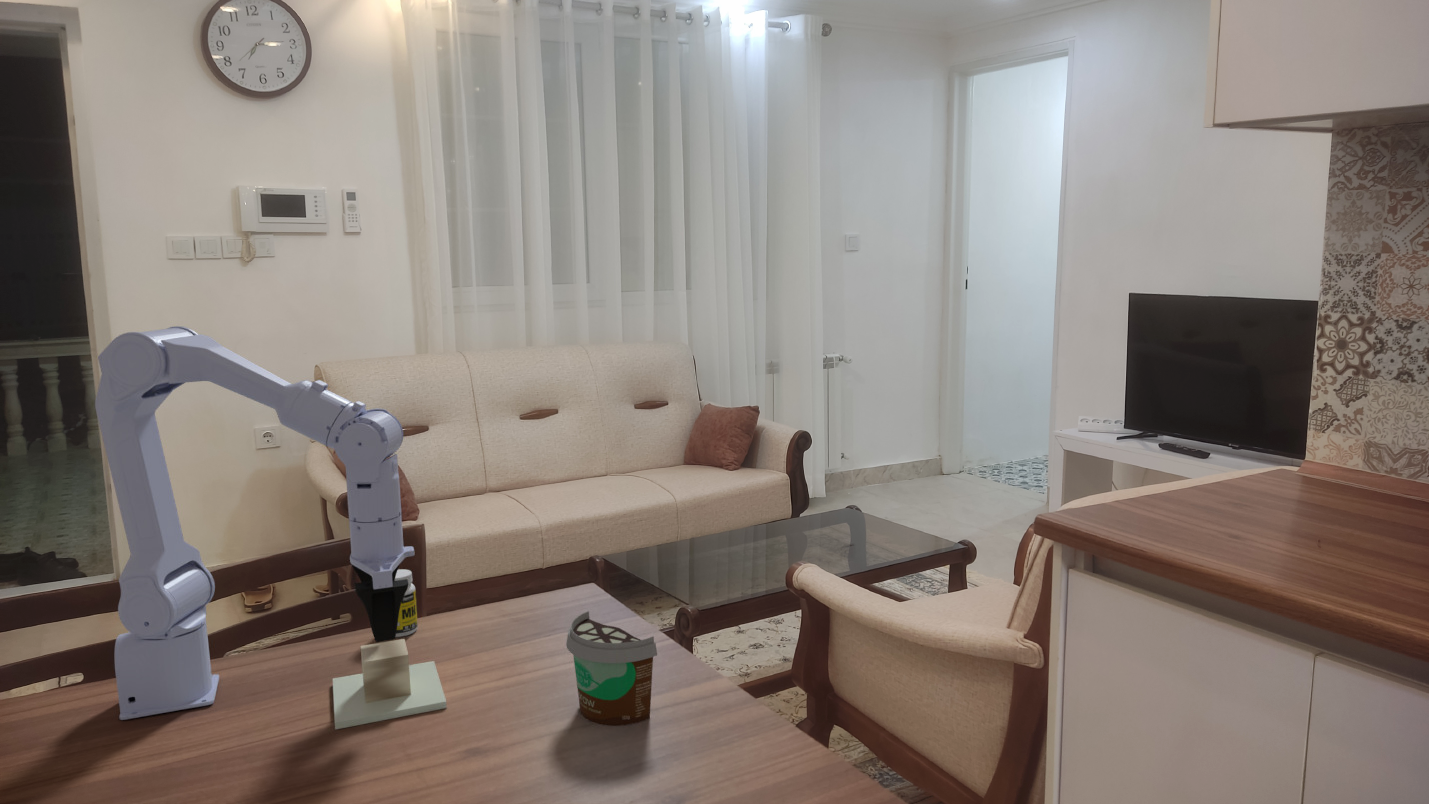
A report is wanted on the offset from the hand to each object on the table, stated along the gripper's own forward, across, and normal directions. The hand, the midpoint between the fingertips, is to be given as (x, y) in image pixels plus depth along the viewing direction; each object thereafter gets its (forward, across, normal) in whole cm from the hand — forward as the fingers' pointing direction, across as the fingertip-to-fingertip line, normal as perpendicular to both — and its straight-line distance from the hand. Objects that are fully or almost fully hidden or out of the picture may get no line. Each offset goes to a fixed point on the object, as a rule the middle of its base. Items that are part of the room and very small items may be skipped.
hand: (382, 627), depth 109 cm
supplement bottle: (+9, +20, -3) cm, 22 cm away
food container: (+9, -15, -22) cm, 28 cm away
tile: (+9, 0, 0) cm, 9 cm away
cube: (+8, 0, 0) cm, 8 cm away
